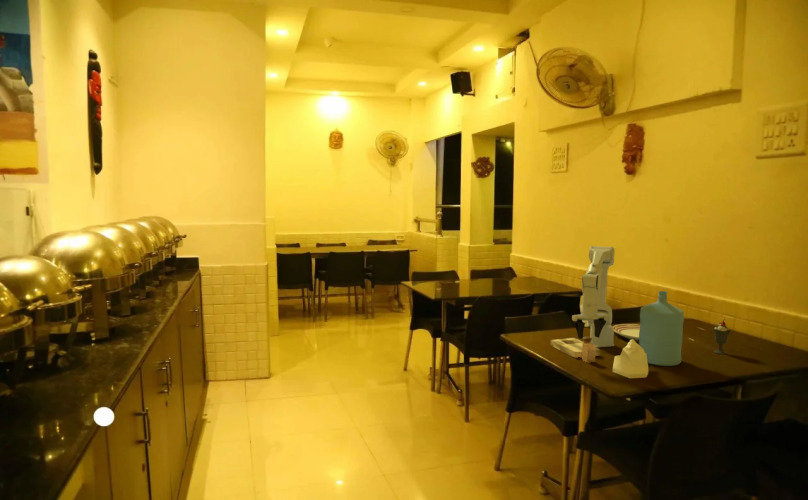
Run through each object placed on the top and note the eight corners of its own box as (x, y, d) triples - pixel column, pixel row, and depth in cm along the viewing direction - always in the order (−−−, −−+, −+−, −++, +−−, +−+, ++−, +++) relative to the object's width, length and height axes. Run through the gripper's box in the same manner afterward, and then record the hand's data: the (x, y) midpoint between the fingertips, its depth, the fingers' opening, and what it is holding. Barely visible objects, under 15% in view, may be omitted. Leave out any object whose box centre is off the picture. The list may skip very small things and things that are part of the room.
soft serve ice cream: (660, 381, 189) (664, 348, 184) (619, 385, 189) (621, 351, 184) (645, 362, 201) (648, 330, 195) (606, 365, 201) (608, 333, 196)
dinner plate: (633, 326, 261) (634, 320, 260) (688, 339, 238) (688, 332, 237) (599, 334, 246) (599, 328, 245) (654, 349, 223) (654, 342, 222)
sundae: (723, 356, 213) (725, 320, 212) (707, 351, 219) (709, 317, 218) (732, 353, 216) (735, 318, 215) (717, 349, 222) (719, 315, 221)
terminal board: (574, 343, 232) (574, 329, 231) (599, 355, 214) (600, 340, 214) (550, 345, 228) (550, 331, 228) (574, 358, 211) (575, 342, 210)
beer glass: (594, 327, 258) (595, 298, 256) (580, 327, 259) (581, 297, 258) (592, 324, 265) (593, 295, 263) (578, 323, 266) (579, 294, 264)
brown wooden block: (589, 359, 209) (590, 342, 209) (594, 362, 206) (595, 345, 205) (581, 360, 208) (582, 343, 208) (587, 363, 205) (587, 345, 204)
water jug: (679, 369, 197) (683, 297, 194) (635, 362, 206) (638, 293, 203) (682, 358, 211) (686, 290, 207) (640, 352, 219) (643, 286, 216)
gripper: (579, 306, 199) (578, 341, 201) (612, 305, 203) (610, 339, 204) (569, 303, 206) (568, 336, 207) (601, 301, 210) (599, 334, 211)
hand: (588, 337), depth 206 cm, fingers open, 7 cm apart
